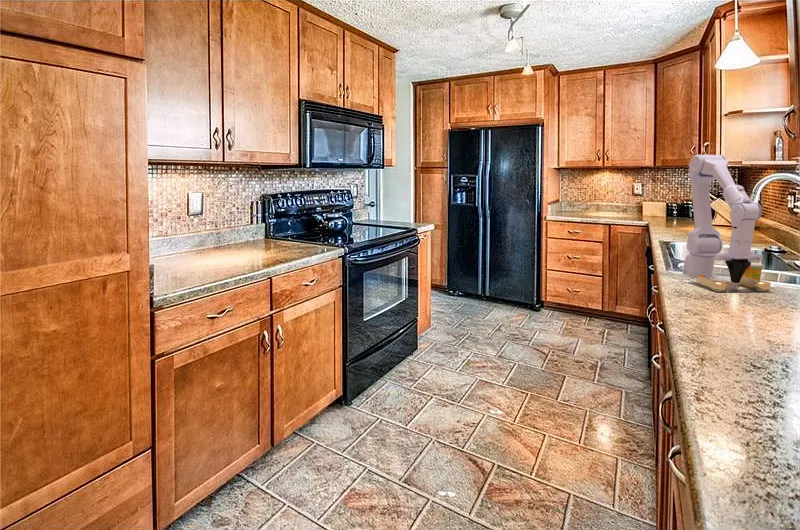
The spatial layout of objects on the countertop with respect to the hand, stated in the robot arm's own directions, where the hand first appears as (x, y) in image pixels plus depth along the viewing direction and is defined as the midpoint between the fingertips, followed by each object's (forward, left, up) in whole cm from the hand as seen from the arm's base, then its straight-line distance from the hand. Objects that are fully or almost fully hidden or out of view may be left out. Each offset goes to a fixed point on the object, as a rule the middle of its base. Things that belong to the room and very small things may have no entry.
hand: (734, 282), depth 156 cm
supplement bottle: (-10, +14, -3) cm, 18 cm away
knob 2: (+2, +4, -1) cm, 5 cm away
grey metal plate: (+1, -3, -3) cm, 4 cm away
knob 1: (+2, -10, -1) cm, 10 cm away
